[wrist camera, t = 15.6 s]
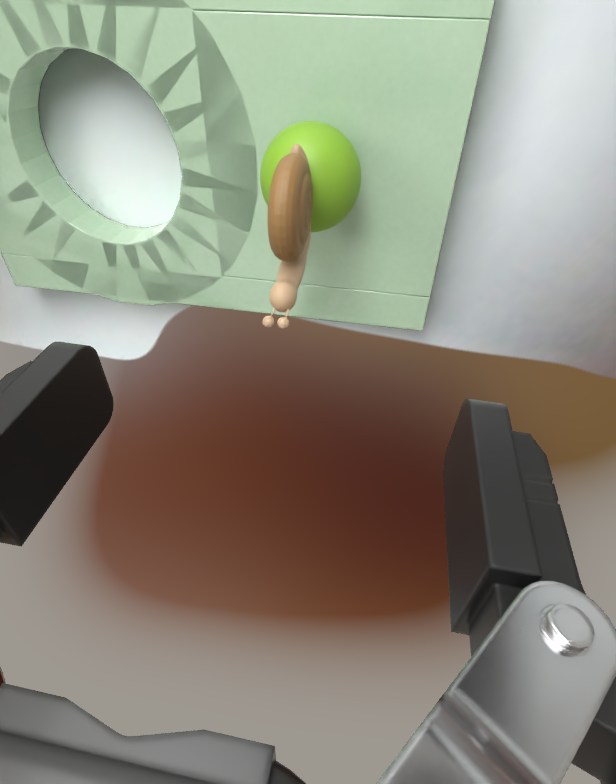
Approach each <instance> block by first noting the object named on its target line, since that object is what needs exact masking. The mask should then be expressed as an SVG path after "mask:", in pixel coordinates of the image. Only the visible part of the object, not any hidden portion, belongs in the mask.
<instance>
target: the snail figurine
mask: <svg viewBox="0 0 616 784" xmlns="http://www.w3.org/2000/svg"><path fill="white" fill-rule="evenodd" d="M260 184H261V190H262V194H263V197H264V200H265V202H266V204H267V206H268V238H269V243H270V247H271V250H272V252H273V253H274V255H275V256H276V257H277V258H278V259H279V260H282V261H281V263H280V266H279V270H278V273H277V278H276V283H275V284H274V285H273V287H272V288H271V291H270V295H269V298H270V303H271V305H272V306H273V311H272V314H271V316H265V317H264V318H263V324H264V326H266V327H272V326H273V325H274V324H275V320H274V318H273V317H272V316H273V314H274V311H275V310H277V311H278V312H286V316H285V317H281V318H279V319H278V321H277V325H278V327H279V328H283V329H284V328H287V327H288V326H289V320H288V319H287V316H288V313H289V310H291V309H292V308H293V307H294V305H295V303H296V300H297V290H298V288H299V286H300V284H301V281H302V278H303V275H304V271H305V265H306V260H307V253H308V249H309V244H310V238H311V233H312V232H320V231H324V230H327V229H329V228H332V227H333V226H335V225H337V224H338V223H340V222H341V221H342V220H343V219H344V218H345V217H346V216H347V215H348V214H349V212H350V211H351V210H352V208H353V206H354V204H355V202H356V200H357V198H358V195H359V191H360V186H361V167H360V162H359V158H358V156H357V153H356V151H355V149H354V147H353V145H352V144H351V142H350V141H349V140H348V138H347V137H346V136H345V135H344V134H343V133H342V132H340V131H339V130H338V129H336V128H335V127H333V126H331V125H328V124H326V123H323V122H318V121H304V122H299V123H296V124H293V125H291V126H289V127H287V128H285V129H284V130H282V131H281V132H280V133H279V134H278V135H277V136H276V137H275V138H274V139H273V140H272V142H271V143H270V144H269V146H268V148H267V150H266V152H265V154H264V157H263V160H262V164H261V170H260Z"/></svg>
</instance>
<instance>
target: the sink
mask: <svg viewBox="0 0 616 784" xmlns="http://www.w3.org/2000/svg"><path fill="white" fill-rule="evenodd" d="M494 2H495V0H0V252H1V253H2V256H3V258H4V261H5V263H6V265H7V267H8V270H9V272H10V274H11V277H12V279H13V281H14V283H15V285H16V286H25V287H34V288H43V289H52V290H61V291H70V292H79V293H88V294H96V295H99V296H102V297H105V298H108V299H111V300H114V301H117V302H124V303H133V304H142V305H159V304H165V303H178V304H187V305H196V306H205V307H214V308H223V309H232V310H240V311H249V312H258V313H269V314H272V311H273V306H272V305H271V303H270V298H269V295H270V291H271V288H272V287H273V285H274V284H275V283H276V278H277V273H278V270H279V266H280V263H281V261H282V260H279V259H278V258H277V257H276V256H275V255H274V253H273V252H272V250H271V247H270V243H269V238H268V206H267V204H266V202H265V200H264V197H263V194H262V190H261V184H260V170H261V164H262V160H263V157H264V154H265V152H266V150H267V148H268V146H269V144H270V143H271V142H272V140H273V139H274V138H275V137H276V136H277V135H278V134H279V133H280V132H281V131H282V130H284V129H285V128H287V127H289V126H291V125H293V124H296V123H299V122H304V121H318V122H323V123H326V124H328V125H331V126H333V127H335V128H336V129H338V130H339V131H340V132H342V133H343V134H344V135H345V136H346V137H347V138H348V140H349V141H350V142H351V144H352V145H353V147H354V149H355V151H356V153H357V156H358V158H359V162H360V167H361V186H360V191H359V195H358V198H357V200H356V202H355V204H354V206H353V208H352V210H351V211H350V212H349V214H348V215H347V216H346V217H345V218H344V219H343V220H342V221H341V222H340V223H338V224H337V225H335V226H333V227H332V228H329V229H327V230H324V231H320V232H312V233H311V238H310V244H309V249H308V253H307V260H306V265H305V271H304V275H303V278H302V281H301V284H300V286H299V288H298V290H297V300H296V303H295V305H294V307H293V308H292V309H291V310H289V313H288V316H294V317H303V318H312V319H321V320H330V321H339V322H348V323H357V324H366V325H375V326H384V327H393V328H402V329H411V330H420V331H422V330H423V327H424V323H425V318H426V313H427V309H428V304H429V300H430V295H431V291H432V286H433V281H434V277H435V272H436V268H437V263H438V258H439V254H440V249H441V245H442V240H443V236H444V231H445V226H446V222H447V217H448V213H449V208H450V203H451V199H452V194H453V190H454V185H455V180H456V176H457V171H458V167H459V162H460V158H461V153H462V148H463V144H464V139H465V135H466V130H467V125H468V121H469V116H470V112H471V107H472V103H473V98H474V93H475V89H476V84H477V80H478V75H479V70H480V66H481V61H482V57H483V52H484V47H485V43H486V38H487V34H488V29H489V25H490V20H489V19H491V16H492V11H493V7H494ZM70 48H75V49H83V50H85V51H88V52H91V53H93V54H96V55H99V56H102V57H104V58H107V59H109V60H110V61H111V62H113V63H114V64H116V65H117V66H119V67H120V68H121V69H123V70H124V71H126V72H127V73H129V74H130V75H131V76H132V77H133V78H134V79H135V80H136V81H137V82H138V83H139V85H140V86H141V87H142V88H143V89H144V90H145V91H146V92H147V93H148V94H149V95H150V96H151V97H152V99H153V100H154V102H155V104H156V105H157V107H158V108H159V110H160V112H161V113H162V115H163V116H164V118H165V120H166V121H167V123H168V125H169V128H170V130H171V133H172V136H173V138H174V141H175V144H176V146H177V149H178V153H179V160H180V166H181V173H182V181H181V192H180V200H179V202H178V205H177V207H176V210H175V213H174V215H173V217H172V218H171V220H169V221H168V222H166V223H164V224H162V225H157V226H152V227H147V228H142V227H131V226H127V225H124V224H121V223H118V222H115V221H112V220H109V219H108V218H106V217H104V216H103V215H101V214H100V213H98V212H96V211H95V210H93V209H91V208H90V207H89V206H88V205H87V204H86V203H85V202H84V201H83V200H81V199H80V198H79V197H78V196H77V195H76V194H75V193H74V192H73V191H72V189H71V188H70V187H69V186H68V184H67V183H66V182H65V180H64V179H63V178H62V177H61V175H60V174H59V172H58V170H57V168H56V166H55V164H54V163H53V161H52V159H51V157H50V155H49V153H48V151H47V148H46V145H45V142H44V139H43V136H42V133H41V130H40V121H39V112H38V100H39V93H40V86H41V81H42V79H43V77H44V75H45V73H46V71H47V69H48V67H49V65H50V64H51V63H52V62H53V61H54V60H55V59H56V58H57V57H58V56H59V55H60V54H61V53H63V52H64V51H65V50H67V49H70ZM274 314H276V315H285V316H286V312H278V311H277V310H275V311H274Z"/></svg>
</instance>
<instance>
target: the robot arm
mask: <svg viewBox="0 0 616 784" xmlns="http://www.w3.org/2000/svg"><path fill="white" fill-rule="evenodd" d="M112 411H113V397H112V394H111V391H110V388H109V385H108V382H107V380H106V377H105V374H104V371H103V368H102V366H101V363H100V360H99V357H98V354H97V352H96V350H95V349H94V348H93V347H91V346H86V345H79V344H71V343H64V342H54V343H52V344H50V345H49V346H48V347H47V348H46V349H45V350H44V351H43V352H42V353H41V354H40V355H39V356H38V357H37V358H36V359H35V360H34V361H30V362H28V363H26V364H24V365H23V366H21V367H19V368H17V369H15V370H14V371H12V372H10V373H8V374H7V375H5V376H4V377H3V378H2V379H1V380H0V542H1V543H7V544H12V545H17V546H22V545H23V544H24V542H25V541H26V539H27V538H28V536H29V535H30V533H31V532H32V531H33V529H34V528H35V526H36V525H37V524H38V522H39V521H40V519H41V518H42V516H43V515H44V514H45V512H46V511H47V509H48V508H49V507H50V505H51V504H52V502H53V501H54V499H55V498H56V496H57V495H58V494H59V492H60V491H61V489H62V488H63V486H64V485H65V484H66V482H67V481H68V480H69V478H70V477H71V475H72V474H73V473H74V471H75V470H76V468H77V467H78V465H79V464H80V462H81V461H82V460H83V458H84V457H85V455H86V454H87V453H88V451H89V450H90V448H91V447H92V446H93V444H94V443H95V441H96V440H97V438H98V437H99V436H100V434H101V433H102V431H103V430H104V429H105V427H106V425H107V424H108V422H109V421H110V418H111V416H112ZM443 474H444V475H443V477H444V497H445V518H446V535H447V556H448V577H449V597H450V616H451V632H456V633H461V634H466V635H470V647H471V658H470V660H469V661H468V662H467V664H466V665H465V666H464V668H463V669H462V670H461V672H460V673H459V674H458V676H457V677H456V678H455V680H454V681H453V682H452V684H451V685H450V686H449V688H448V689H447V690H446V692H445V693H444V694H443V695H442V697H441V698H440V699H439V701H438V702H437V703H436V705H435V706H434V707H433V709H432V710H431V711H430V713H429V714H428V715H427V717H426V718H425V719H424V721H423V722H422V723H421V725H420V726H419V727H418V729H417V730H416V731H415V733H414V734H413V735H412V737H411V738H410V739H409V741H408V742H407V743H406V745H405V746H404V747H403V749H402V750H401V751H400V753H399V754H398V755H397V757H396V758H395V759H394V761H393V762H392V763H391V765H390V766H389V767H388V769H387V770H386V771H385V773H384V774H383V775H382V777H381V778H380V779H379V781H378V782H377V783H376V784H560V783H561V781H562V779H563V777H564V776H565V774H566V772H567V770H568V768H569V766H570V764H571V763H572V764H574V765H576V766H578V767H579V768H581V769H583V770H584V771H586V772H587V773H589V774H591V775H592V776H594V777H596V778H597V779H599V780H600V782H601V784H616V629H615V628H614V626H613V624H612V623H611V621H610V620H609V618H608V617H607V615H606V614H605V613H604V612H603V610H602V609H601V608H600V607H599V606H598V605H597V604H596V603H595V602H594V601H593V600H591V599H590V598H589V597H588V596H586V594H585V592H584V590H583V587H582V584H581V581H580V578H579V574H578V571H577V567H576V564H575V560H574V556H573V552H572V549H571V545H570V541H569V537H568V534H567V530H566V526H565V523H564V519H563V515H562V512H561V508H560V505H559V504H558V503H557V501H558V497H557V494H556V489H555V486H554V484H552V480H553V478H552V475H551V471H550V467H549V464H548V460H547V456H546V455H545V453H544V452H543V451H542V449H541V448H540V447H539V445H538V444H537V443H536V441H535V440H534V439H533V438H532V436H531V435H530V434H528V433H521V432H514V431H512V427H511V423H510V418H509V413H508V409H507V406H506V405H505V404H501V403H494V402H487V401H480V400H471V399H466V400H465V401H464V403H463V405H462V407H461V410H460V413H459V416H458V419H457V422H456V424H455V427H454V430H453V433H452V436H451V439H450V442H449V444H448V447H447V451H446V455H445V462H444V473H443ZM0 784H306V783H305V782H304V781H302V780H301V779H300V778H299V777H298V776H297V775H295V774H294V773H293V772H292V771H291V770H290V769H288V768H287V767H285V766H283V765H282V764H280V763H279V762H277V761H276V755H275V746H272V745H268V744H263V743H259V742H255V741H250V740H246V739H241V738H237V737H233V736H229V735H224V734H220V733H216V732H211V731H207V730H197V731H186V732H175V733H165V734H155V735H143V736H123V735H121V734H119V733H117V732H116V731H114V730H113V729H111V728H110V727H108V726H107V725H105V724H104V723H102V722H100V721H99V720H98V719H96V718H95V717H93V716H92V715H90V714H89V713H87V712H86V711H84V710H83V709H81V708H80V707H78V706H77V705H76V704H74V703H73V702H71V701H70V700H68V699H67V698H64V697H60V696H56V695H52V694H47V693H43V692H38V691H34V690H30V689H25V688H21V687H17V686H12V685H8V684H6V682H5V678H4V675H3V672H2V670H1V668H0Z"/></svg>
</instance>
